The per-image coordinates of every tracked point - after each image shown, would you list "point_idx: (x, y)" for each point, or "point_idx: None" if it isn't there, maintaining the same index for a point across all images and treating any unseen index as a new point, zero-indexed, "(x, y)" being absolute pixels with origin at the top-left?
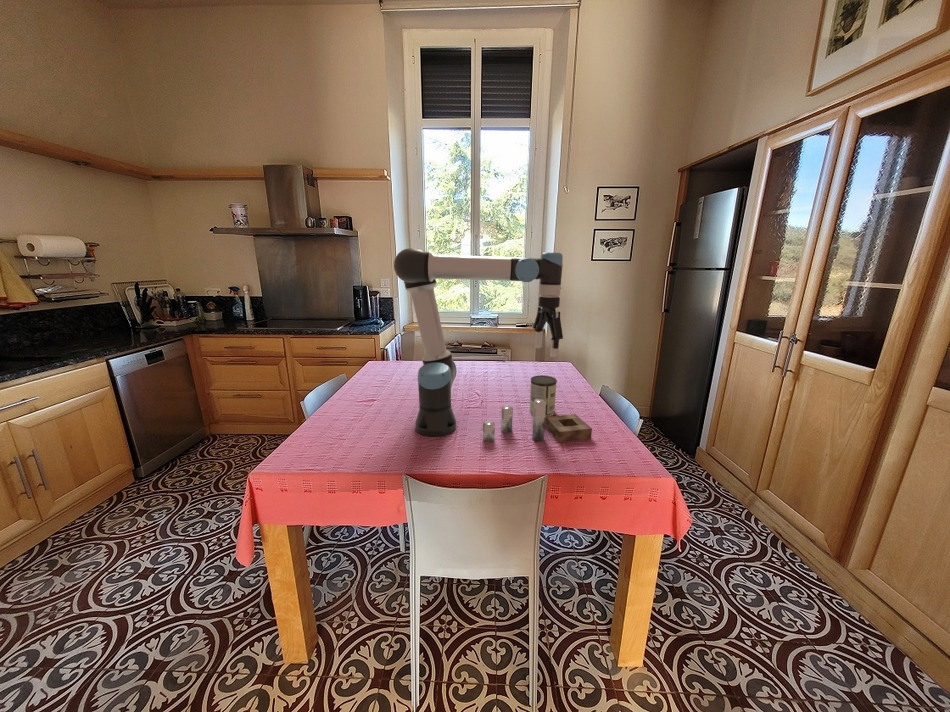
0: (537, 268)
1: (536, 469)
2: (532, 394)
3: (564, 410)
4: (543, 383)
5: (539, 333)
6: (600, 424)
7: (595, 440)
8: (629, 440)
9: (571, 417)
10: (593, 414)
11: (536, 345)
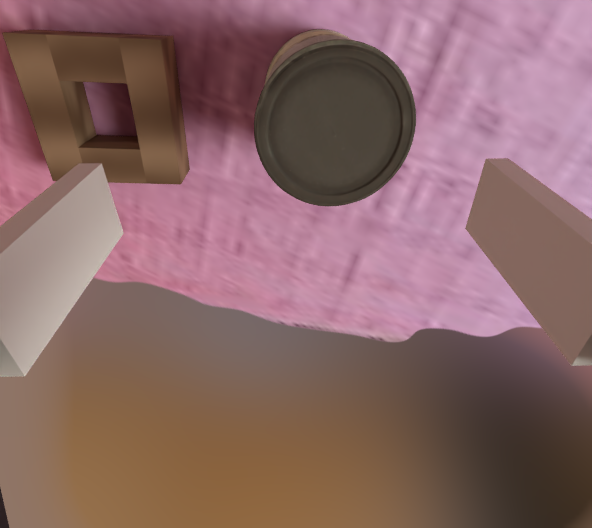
0: None
1: None
2: (317, 37)
3: None
4: (265, 98)
5: (581, 304)
6: (178, 244)
7: None
8: None
9: (149, 153)
10: (251, 260)
11: (498, 180)
